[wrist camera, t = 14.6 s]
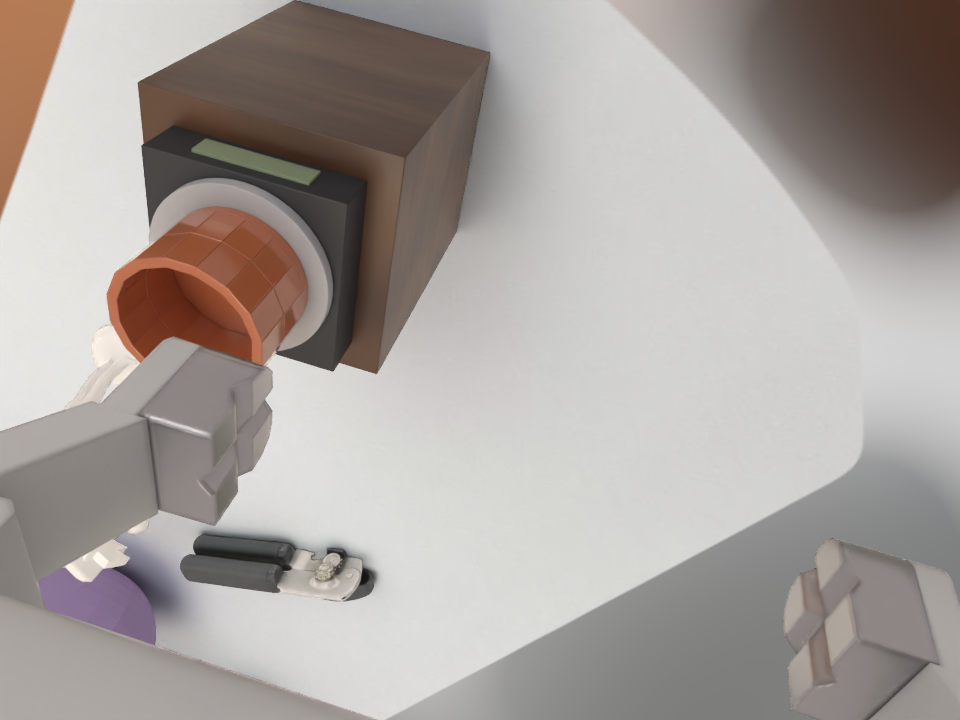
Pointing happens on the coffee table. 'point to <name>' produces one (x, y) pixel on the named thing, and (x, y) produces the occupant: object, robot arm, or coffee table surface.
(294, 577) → the can opener
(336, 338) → the scale
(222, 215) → the bowl
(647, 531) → the coffee table surface
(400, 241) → the wooden block
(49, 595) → the purple ovoid
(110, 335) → the figurine
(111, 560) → the character figurine
